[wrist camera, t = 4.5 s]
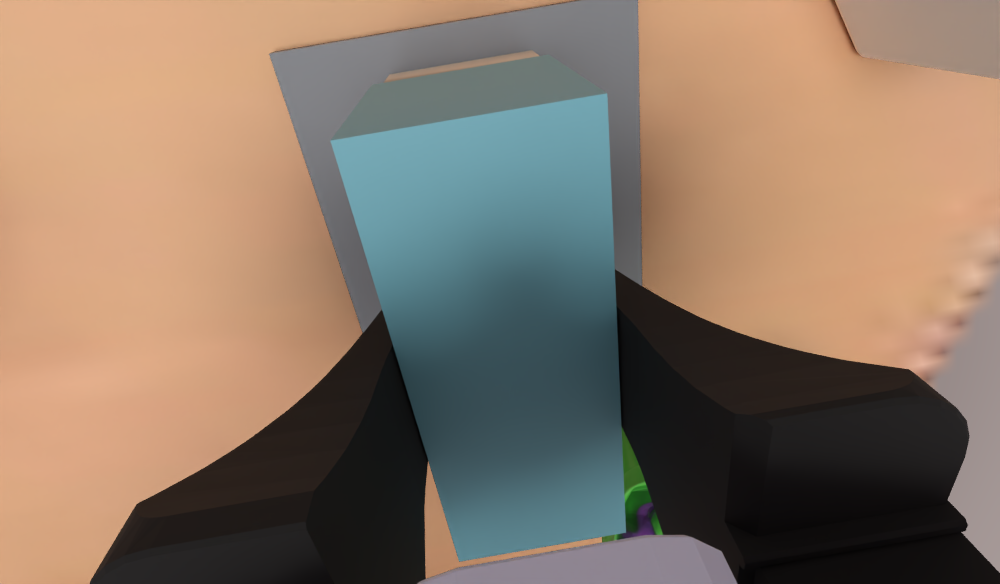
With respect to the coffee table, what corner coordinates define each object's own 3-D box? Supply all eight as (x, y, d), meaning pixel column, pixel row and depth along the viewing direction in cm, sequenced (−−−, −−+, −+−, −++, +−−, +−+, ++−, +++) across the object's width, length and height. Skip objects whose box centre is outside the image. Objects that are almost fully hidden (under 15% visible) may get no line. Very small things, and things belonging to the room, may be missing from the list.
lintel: (580, 393, 17) (626, 533, 13) (455, 414, 17) (458, 561, 13) (548, 54, 12) (607, 93, 8) (372, 84, 12) (330, 140, 8)
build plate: (638, 342, 21) (642, 349, 20) (384, 386, 21) (383, 394, 20) (631, -10, 15) (637, -9, 14) (274, 51, 15) (269, 53, 14)
